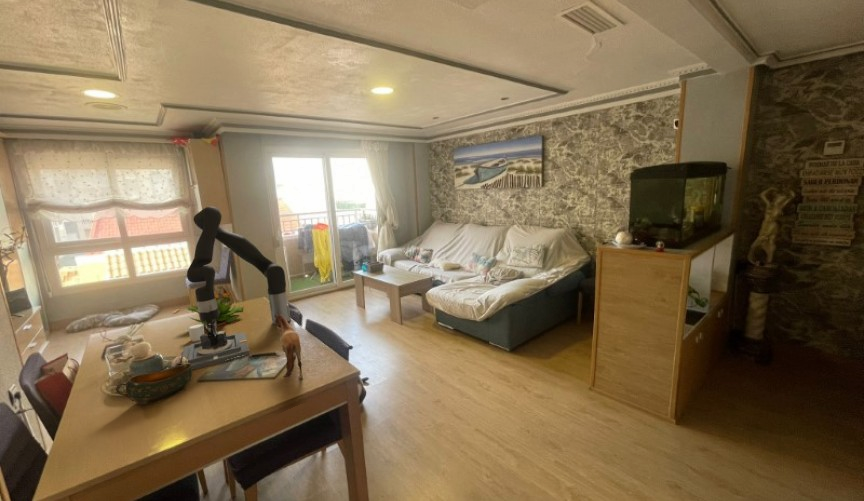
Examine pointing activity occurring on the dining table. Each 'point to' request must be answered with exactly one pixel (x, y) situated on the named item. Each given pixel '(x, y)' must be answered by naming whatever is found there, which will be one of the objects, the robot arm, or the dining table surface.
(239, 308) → the potted flower
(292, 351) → the horse figurine
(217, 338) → the dial
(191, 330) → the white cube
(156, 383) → the dark green oval bowl
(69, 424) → the dining table surface
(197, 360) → the dial board
